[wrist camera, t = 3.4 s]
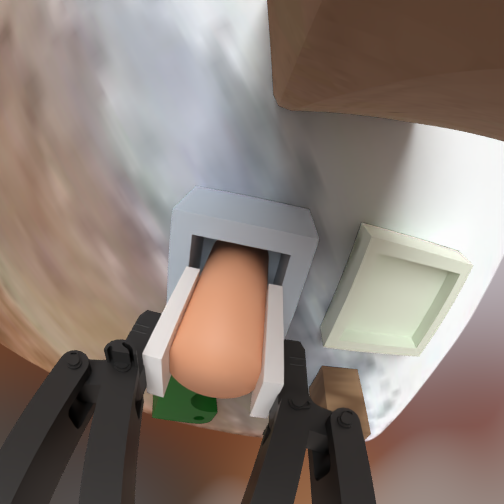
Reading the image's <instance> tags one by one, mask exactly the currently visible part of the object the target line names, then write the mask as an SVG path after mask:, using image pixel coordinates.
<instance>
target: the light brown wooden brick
mask: <svg viewBox="0 0 504 504" xmlns="http://www.w3.org/2000/svg"><path fill="white" fill-rule="evenodd" d="M309 393H310V397H311V399H312V401H313V402H314V403H315V404H317V405H318V406H320V407H322V408H325V409H328V410H331V411H334V410H336V409H337V408H342V407H344V408H349V409H351V410H353V411H354V412H355V413H356V414H357V415H358V417H359V419H360V423H361V427H362V432H363V436H364V440H365V439H366V438H367V437H368V436H369V435H370V434H371V433H370V427H369V422H368V417H367V412H366V407H365V402H364V397H363V393H362V388H361V384H360V379H359V375H358V370H357V369H348V368H338V367H328V366H322V367H321V369H320V370H319V372H318V374H317V376H316V377H315V379H314V381H313V383H312V384H311V386H310V388H309Z"/></svg>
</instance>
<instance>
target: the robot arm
mask: <svg viewBox="0 0 504 504" xmlns="http://www.w3.org/2000/svg"><path fill="white" fill-rule="evenodd" d="M199 273H200V269H197V268H192V267H188V266H186V268H185V270H184V272H183V274H182V276H181V278H180V279H179V281H178V283H177V285H176V287H175V289H174V291H173V293H172V295H171V297H170V299H169V301H168V303H167V305H166V307H165V309H164V311H163V313H162V314H160V313H157V312H153V311H149V310H147V311H145V312H144V313H143V314H141V315H140V316H139V318H138V319H137V321H136V323H135V325H134V326H133V328H132V331H131V332H130V333H129V335H128V337H127V339H126V340H114V341H111V342H110V343H108V344H107V345H106V346H105V348H104V352H105V356H106V360H90V359H88V357H87V356H86V354H84V353H83V352H81V351H77V350H74V351H69V352H67V353H65V354H64V355H63V356H62V357H61V358H60V360H59V361H58V362H57V364H56V365H55V366H54V368H53V369H52V371H51V372H50V373H49V375H48V376H47V378H46V379H45V381H44V382H43V383H42V385H41V386H40V388H39V389H38V390H37V392H36V393H35V395H34V396H33V398H32V399H31V401H30V402H29V404H28V405H27V407H26V408H25V410H24V411H23V413H22V415H21V416H20V418H19V419H18V421H17V422H16V424H15V426H14V427H13V429H12V430H11V432H10V434H9V435H8V437H7V439H6V441H5V442H4V444H3V446H2V447H1V449H0V504H49V502H50V500H51V498H52V495H53V493H54V491H55V489H56V487H57V485H58V482H59V480H60V478H61V476H62V474H63V472H64V470H65V468H66V466H67V464H68V461H69V460H70V457H71V455H72V453H73V452H74V450H75V448H76V446H77V444H78V442H79V440H80V438H81V436H82V434H83V432H84V430H85V428H86V426H87V424H88V423H89V421H90V419H91V417H92V415H93V413H94V416H93V420H92V424H91V429H90V434H89V439H88V444H87V450H86V455H85V461H84V467H83V474H82V481H81V488H80V497H79V504H135V483H136V469H137V457H138V446H139V436H140V426H141V419H142V411H143V403H144V399H143V394H144V391H145V389H146V388H147V393H149V394H153V395H156V396H160V397H163V398H164V395H165V392H166V389H167V386H168V383H169V380H170V377H171V373H170V371H169V351H170V348H171V345H172V343H173V340H174V338H175V335H176V333H177V331H178V328H179V326H180V323H181V321H182V318H183V316H184V313H185V311H186V309H187V306H188V304H189V301H190V299H191V297H192V294H193V292H194V289H195V287H196V285H197V282H198V280H199ZM305 359H306V358H305V349H304V348H303V346H302V344H301V342H299V341H292V340H286V339H284V327H283V286H278V285H273V284H269V286H268V289H267V293H266V307H265V322H264V337H263V352H262V366H261V373H260V376H259V378H258V381H257V384H256V387H255V389H254V390H253V391H252V397H251V407H250V416H252V417H259V418H266V419H267V417H268V415H269V423H268V425H267V427H266V429H265V430H264V432H263V434H262V435H264V436H263V439H262V443H261V446H260V449H259V452H258V455H257V459H256V461H255V464H254V467H253V471H252V474H251V476H250V479H249V482H248V485H247V488H246V491H245V494H244V497H243V499H242V502H241V504H293V503H294V499H295V496H296V492H297V487H298V483H299V479H300V474H301V469H302V465H303V460H304V455H305V451H306V448H308V456H309V469H310V481H311V495H312V504H376V500H375V494H374V488H373V482H372V476H371V472H370V466H369V461H368V456H367V451H366V446H365V441H364V436H363V432H362V427H361V423H360V419H359V417H358V415H357V414H356V413H355V412H354V411H353V410H351V409H349V408H344V407H342V408H337V409H336V410H334V411H331V410H328V409H325V408H322V407H320V406H318V405H317V404H315V403H314V402H313V401H312V399H311V397H310V396H309V394H308V385H307V371H306V360H305Z"/></svg>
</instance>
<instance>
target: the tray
mask: <svg viewBox="0 0 504 504" xmlns="http://www.w3.org/2000/svg"><path fill="white" fill-rule="evenodd" d="M472 267H473V265H472V264H471V263H470V262H469V261H468V260H467V259H466V258H465V257H464V256H463V255H462V254H461V253H460V252H459V251H457V250H454V249H451V248H448V247H444V246H441V245H438V244H435V243H432V242H428V241H425V240H422V239H418V238H415V237H412V236H408V235H405V234H401V233H398V232H394V231H391V230H387V229H384V228H380V227H377V226H373V225H369V224H365V223H361V226H360V229H359V232H358V235H357V237H356V240H355V243H354V246H353V248H352V251H351V254H350V256H349V259H348V262H347V264H346V267H345V269H344V272H343V274H342V277H341V279H340V282H339V284H338V287H337V289H336V292H335V294H334V297H333V299H332V301H331V304H330V306H329V308H328V311H327V313H326V315H325V317H324V320H323V322H322V324H321V326H320V329H321V335H322V342H323V347H326V348H333V349H341V350H350V351H359V352H368V353H379V354H390V355H404V356H420V354H421V353H422V351H423V350H424V349H425V347H426V346H427V344H428V343H429V341H430V340H431V338H432V337H433V335H434V334H435V332H436V331H437V329H438V328H439V326H440V324H441V323H442V321H443V320H444V318H445V316H446V315H447V313H448V311H449V310H450V308H451V306H452V305H453V303H454V301H455V299H456V298H457V296H458V294H459V292H460V290H461V288H462V287H463V285H464V283H465V281H466V279H467V277H468V275H469V273H470V271H471V269H472Z"/></svg>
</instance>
